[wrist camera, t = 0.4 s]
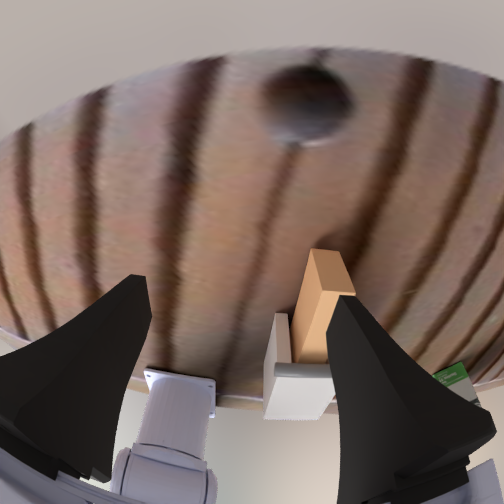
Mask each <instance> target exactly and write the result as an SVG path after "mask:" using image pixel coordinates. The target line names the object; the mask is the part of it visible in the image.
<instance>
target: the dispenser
mask: <svg viewBox="0 0 504 504" xmlns="http://www.w3.org/2000/svg"><path fill="white" fill-rule="evenodd" d="M334 395H335V389H334V384H333V380H332V375H331V370H330V365H329V360H328V358H327V360H326V362H325V364H304V363H292V362H291V349H290V337H289V325H288V314H285V313H275V316H274V321H273V325H272V330H271V334H270V339H269V343H268V347H267V352H266V356H265V360H264V382H263V419H273V420H318V419H319V417H320V416H321V415H322V413H323V412H324V410H325V409H326V407H327V406H328V404H329V403H330V401H331V400H332V398H333V397H334Z"/></svg>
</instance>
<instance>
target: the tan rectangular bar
mask: <svg viewBox="0 0 504 504" xmlns="http://www.w3.org/2000/svg"><path fill="white" fill-rule="evenodd" d="M355 294H356V292H355V290H354V287H353V284H352V282H351V279H350V277H349V274H348V272H347V270H346V267H345V265H344V262H343V260H342V258H341V255H340V253H339V251H331V250H322V249H314V248H311V250H310V254H309V258H308V262H307V267H306V271H305V274H304V278H303V282H302V286H301V290H300V294H299V298H298V301H297V305H296V309H295V312H294V316H293V319H292V323H291V327H290V330H289V337H290V349H291V362H292V363H304V364H325V362H326V360H327V358H328V355H327V343H326V331H327V328H328V325H329V323H330V320H331V317H332V315H333V312H334V309H335V306H336V303H337V301H338V298H339V295H352V296H355Z"/></svg>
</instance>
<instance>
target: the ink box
mask: <svg viewBox="0 0 504 504" xmlns="http://www.w3.org/2000/svg"><path fill="white" fill-rule="evenodd" d="M433 377H434V378H435V379H436V380H438V381H439V382H440V383H442V384H443V385H444V386H446V387H447V388H449V389H450V390H452V391H453V392H455V393H456V394H458V395H459V396H461V397H463V398H464V399H466V400H468V401H469V402H471V403H473V404H475V405H477V406H479V407H481V405H480V402H479V400H478V397H477V395H476V392H475V390H474V387H473V385H472V383H471V380H470V378H469V376H468V374H467V372H466V370H465V368H464V365H463V363H462V362H459V363H457V364H455V365H453V366H451V367H449V368H446V369H444V370H442V371H440V372H438V373H436V374H434V375H433ZM481 408H482V407H481Z"/></svg>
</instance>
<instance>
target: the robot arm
mask: <svg viewBox="0 0 504 504" xmlns="http://www.w3.org/2000/svg"><path fill="white" fill-rule="evenodd" d="M151 318H152V313H151V308H150V302H149V296H148V290H147V283H146V277H145V276H140V275H133V274H131V275H129V276H128V277H126V278H125V279H124V280H122V281H121V282H120V283H119V284H117V285H116V286H115V287H114V288H112V289H111V290H110V291H109V292H107V293H106V294H105V295H104V296H102V297H101V298H100V299H98V300H97V301H96V302H95V303H93V304H92V305H91V306H89V307H88V308H87V309H85V310H84V311H83V312H81V313H80V314H78V315H77V316H76V317H74V318H73V319H72V320H70V321H69V322H67V323H66V324H64V325H63V326H61V327H60V328H58V329H56V330H55V331H53V332H51V333H50V334H48V335H46V336H44V337H42V338H40V339H39V340H37V341H35V342H33V343H31V344H29V345H27V346H25V347H23V348H20V349H18V350H16V351H14V352H11V353H8V354H6V355H3V356H0V504H93V503H94V504H215V503H216V498H217V478H216V476H215V474H214V473H213V471H212V470H211V469H207V462H206V461H203V459H204V451H205V443H206V436H207V429H208V421H209V417H211V418H213V417H215V391H216V382H215V380H213V379H207V378H200V377H193V376H186V375H180V374H174V373H169V372H163V371H158V370H153V369H148V368H146V369H144V375H145V378H146V381H147V384H148V387H149V390H150V393H149V397H148V400H147V403H146V407H145V411H144V414H143V418H142V421H141V425H140V429H139V432H138V436H137V440H136V443H133V447H132V451H131V449H130V448H125V449H122V450H120V451H119V453H118V455H117V458H116V461H115V464H114V468H113V472H112V461H113V451H114V443H115V436H116V430H117V425H118V420H119V414H120V410H121V405H122V401H123V397H124V394H125V391H126V387H127V384H128V382H129V379H130V377H131V374H132V372H133V369H134V367H135V364H136V362H137V359H138V357H139V355H140V352H141V350H142V347H143V345H144V342H145V340H146V337H147V333H148V330H149V326H150V322H151ZM326 343H327V355H328V360H329V365H330V370H331V375H332V380H333V384H334V389H335V394H336V399H337V404H338V411H339V424H340V448H341V449H340V450H341V451H340V452H341V453H340V479H339V489H338V499H337V504H504V503H503V498H502V493H501V488H500V484H499V480H498V476H497V472H496V468H495V464H494V461H493V459H489V460H488V461H486V462H484V463H482V464H480V465H478V466H476V467H474V468H472V469H471V470H469V471H467V470H466V465H468V464H469V463H470V460H469V455H470V454H472V453H473V452H474V451H476V450H477V449H479V448H480V447H481V446H483V445H484V444H486V443H487V442H488V441H489V440H491V439H492V438H493V437H494V436H495V434H496V432H497V430H496V428H495V425H494V422H493V419H492V416H491V414H490V412H489V411H487V410H485V409H483V408H481V407H479V406H477V405H475V404H473V403H471V402H469V401H468V400H466V399H464V398H463V397H461V396H459V395H458V394H456V393H455V392H453V391H452V390H450V389H449V388H447V387H446V386H444V385H443V384H442V383H440V382H439V381H438V380H436V379H435V378H434V377H432V376H431V375H430V374H429V373H428V372H426V371H425V370H424V369H423V368H422V367H421V366H420V365H418V364H417V363H416V362H415V361H414V360H413V359H412V358H411V357H410V356H409V355H408V354H407V353H406V352H405V351H404V350H403V349H402V348H401V347H400V346H399V345H398V344H397V343H396V342H395V341H394V340H393V339H392V338H391V337H390V336H389V334H388V333H387V332H386V331H385V330H384V329H383V328H382V327H381V325H380V324H379V323H378V322H377V321H376V320H375V318H374V317H373V316H372V315H371V314H370V313H369V311H368V310H367V309H366V308H365V307H364V306H363V305H362V303H361V302H360V301H359V300H358V299H357V298H356V297H355V296H352V295H339V298H338V301H337V303H336V306H335V309H334V312H333V315H332V317H331V320H330V323H329V325H328V328H327V331H326ZM80 477H82V478H84V479H87V480H89V479H90V478H91V479H94V480H96V481H99V482H102V483H106V482H109V481H110V480H111V483H110V492H109V491H106V490H104V489H101V488H98V487H96V486H93V485H90V484H88V483H86V482H83V481H81V480H79V479H80ZM91 502H92V503H91Z"/></svg>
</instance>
